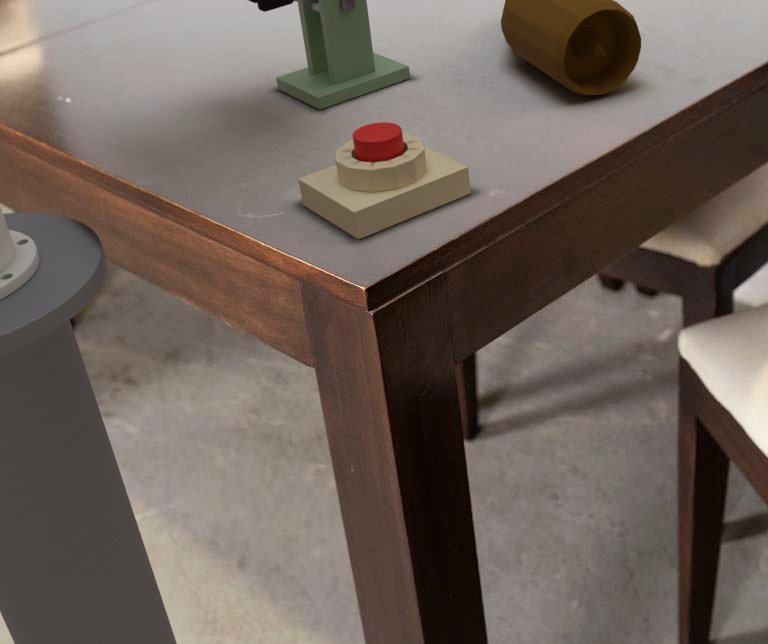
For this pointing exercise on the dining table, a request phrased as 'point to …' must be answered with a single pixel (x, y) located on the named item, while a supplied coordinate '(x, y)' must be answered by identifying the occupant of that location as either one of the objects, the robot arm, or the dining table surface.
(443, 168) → the switch block
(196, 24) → the dining table surface
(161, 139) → the dining table surface
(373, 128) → the light button
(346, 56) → the mains bracket
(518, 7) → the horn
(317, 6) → the lever
